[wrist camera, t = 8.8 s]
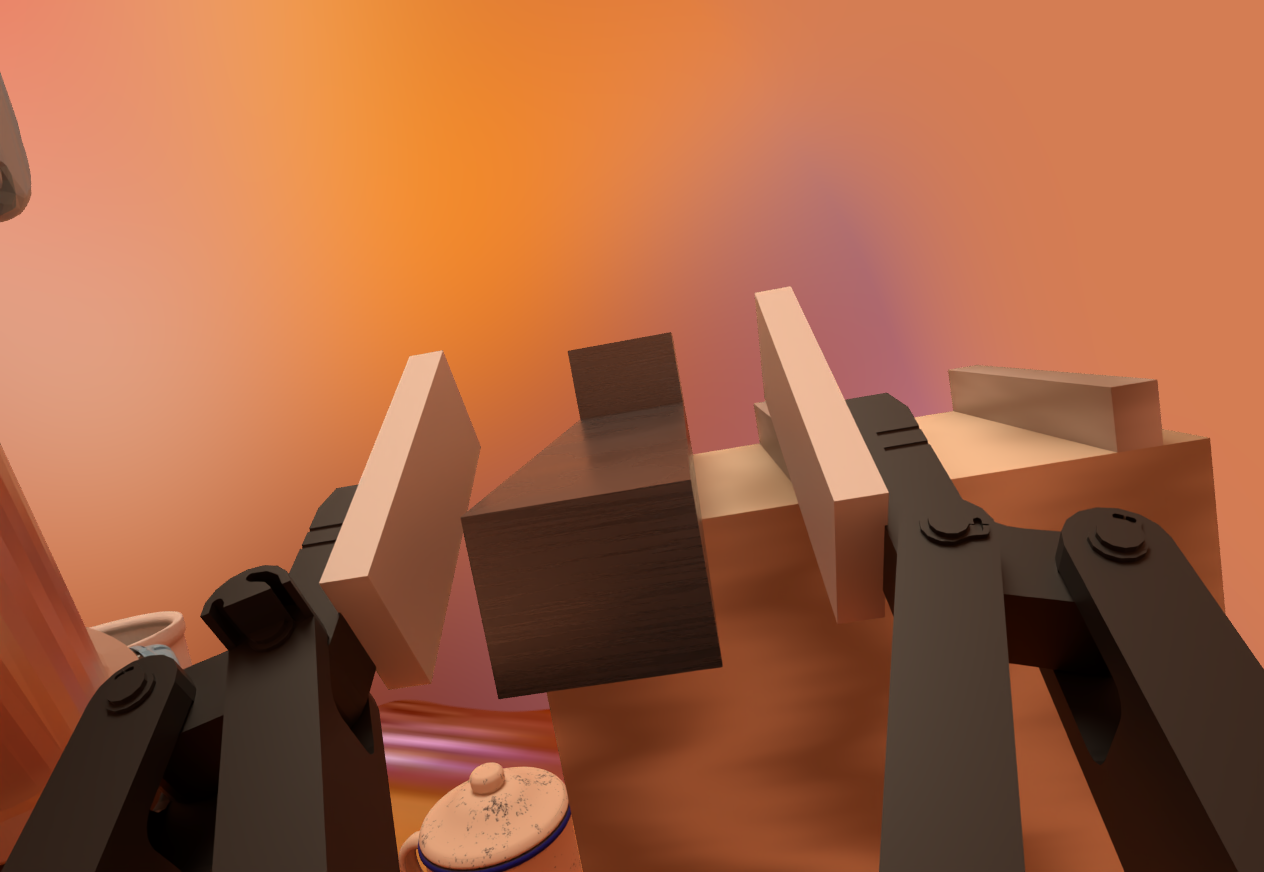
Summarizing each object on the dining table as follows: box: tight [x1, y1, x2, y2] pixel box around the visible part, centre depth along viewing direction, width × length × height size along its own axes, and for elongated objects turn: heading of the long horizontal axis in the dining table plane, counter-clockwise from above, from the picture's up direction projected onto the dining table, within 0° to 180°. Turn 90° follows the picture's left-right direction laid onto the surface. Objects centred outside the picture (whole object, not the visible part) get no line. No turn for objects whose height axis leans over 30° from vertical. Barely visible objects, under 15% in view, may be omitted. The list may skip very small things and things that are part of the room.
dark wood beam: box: [460, 332, 723, 699], centre depth 18 cm, size 3×18×4 cm, turn 176°
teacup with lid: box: [399, 763, 582, 872], centre depth 44 cm, size 12×9×12 cm
